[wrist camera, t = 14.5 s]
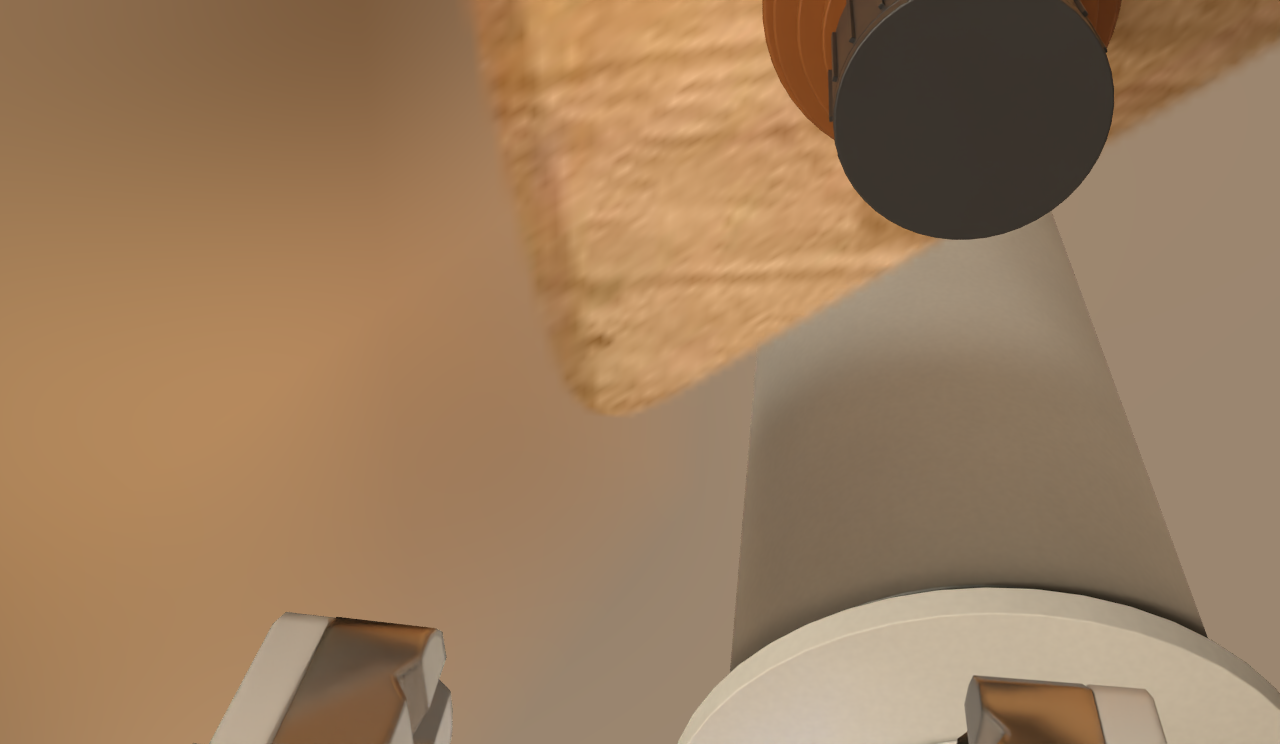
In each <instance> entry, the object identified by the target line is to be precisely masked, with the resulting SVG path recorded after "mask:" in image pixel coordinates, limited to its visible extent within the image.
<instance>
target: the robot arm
mask: <svg viewBox="0 0 1280 744" xmlns="http://www.w3.org/2000/svg"><path fill="white" fill-rule="evenodd" d="M445 660H446V652H445V645H444V640H443V633H442V632H441V631H440V630H438V629H436V628H428V627H419V626H412V625H403V624H394V623H385V622H377V621H368V620H359V619H350V618H342V617H336V618H333V617H324V616H316V615H307V614H297V613H289V612H286V613H285V614H284V615H282V616H281V617H280V618H279V619H278V620H277V621H276V622H274V623H273V625H272V627H271V628H270V630H269V632H268V634H267V636H266V638H265V640H264V642H263V643H262V645H261V647H260V649H259V651H258V653H257V655H256V657H255V659H254V660H253V662H252V664H251V667H250V668H249V670H248V672H247V674H246V676H245V678H244V680H243V681H242V683H241V685H240V687H239V689H238V691H237V692H236V694H235V696H234V698H233V700H232V702H231V704H230V706H229V708H228V709H227V711H226V713H225V715H224V717H223V719H222V721H221V723H220V725H219V726H218V728H217V730H216V732H215V734H214V736H213V738H212V740H211V741H210V744H450V742H451V736H452V712H453V711H452V700H451V692H450V690H449V689H448V688H447V687H446V686H445V685H444V684H443V683H442V682H441V681H440V680H439V678H440V675H441V672H442V669H443V666H444V663H445ZM964 707H965V716H966V724H967V732H966V733H964V734H963V735H962V736H960V737H959V738H958V739H957V741H949V742H942V743H936V744H1167V741H1166V737H1165V734H1164V731H1163V728H1162V724H1161V721H1160V718H1159V714H1158V711H1157V708H1156V705H1155V701H1154V698H1153V697H1152V696H1151V695H1150V693H1149V692H1148V691H1147V690H1146V689H1141V688H1128V687H1116V686H1103V685H1091V684H1088V685H1086V686H1085V685H1083V684H1079V683H1066V682H1054V681H1041V680H1028V679H1016V678H1003V677H990V676H978V675H973V677H972V679H971V681H970V683H969V685H968V690H967V694H966V699H965V703H964Z"/></svg>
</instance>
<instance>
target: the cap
mask: <svg viewBox="0 0 1280 744" xmlns="http://www.w3.org/2000/svg"><path fill="white" fill-rule="evenodd" d="M1088 15H1089V14H1088V12H1087V11H1086V9H1085V8H1084V6H1083V4H1082V3H1081V1H1080V0H846V6H845V8H844V10H843V12H842V15H841V17H840V19H839V22H838V25H837V29H836V32H832V35H831V50H832V70H828V91H829V122H833V130H834V138H835V145H836V149H837V153H838V157H839V160H840V162H841V165H842V167H843V169H844V172H845V174H846V176H847V177H848V179H849V181H850V182H851V184H852V186H853V187H854V189H855V190H856V191H857V192H858V193H859V195H860V196H861V197H862V198H863V200H864V201H865V202H867V203H868V204H869V205H870V206H871V207H872V208H873V209H874V210H875V211H876V212H878V213H879V214H881V215H882V216H883V217H885V218H886V219H888V220H889V221H891V222H893V223H895V224H897V225H899V226H901V227H903V228H905V229H908V230H910V231H913V232H916V233H918V234H922V235H927V236H931V237H935V238H943V239H952V240H969V239H978V238H987V237H991V236H995V235H1000V234H1004V233H1007V232H1010V231H1012V230H1015V229H1018V228H1021V227H1023V226H1025V225H1027V224H1029V223H1031V222H1033V221H1035V220H1037V219H1039V218H1040V217H1042V216H1044V215H1045V214H1047V213H1048V212H1050V211H1052V210H1053V209H1054V208H1055V207H1056V206H1058V205H1059V204H1060V203H1062V202H1063V201H1064V200H1065V199H1066V198H1067V197H1069V195H1071V193H1072V192H1073V191H1074V190H1075V189H1076V188H1077V187H1078V186H1079V185H1080V184H1081V183H1082V181H1083V180H1084V179H1085V178H1086V176H1087V175H1088V174H1089V172H1090V171H1091V169H1092V167H1093V166H1094V164H1095V163H1096V161H1097V159H1098V158H1099V156H1100V154H1101V151H1102V149H1103V147H1104V145H1105V142H1106V140H1107V136H1108V133H1109V130H1110V126H1111V122H1112V115H1113V109H1114V85H1113V78H1112V72H1111V68H1110V65H1109V62H1108V58H1107V55H1106V53H1107V48H1106V46H1105V45H1104V43H1103V41H1102V40H1101V38H1100V36H1099V35H1098V33H1097V32H1096V30H1095V28H1094V27H1093V25H1092V23H1091V22H1090V20H1089V19H1088V17H1087V16H1088Z"/></svg>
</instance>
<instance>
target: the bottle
mask: <svg viewBox="0 0 1280 744" xmlns="http://www.w3.org/2000/svg"><path fill="white" fill-rule="evenodd" d="M1080 1H1081V3H1082V4H1083V6H1084V8H1085V9H1086V11H1087V12H1088V14H1089V15H1088V16H1087V17H1088V19H1089V20H1090V22H1091V23H1092V25H1093V27H1094V28H1095V30H1096V32H1097V33H1098V35H1099V36H1100V38H1101V40H1102V41H1103V43H1104V45H1105V46H1106V48H1107V47H1108V44H1109V42H1110V40H1111V37H1112V35H1113V32H1114V29H1115V26H1116V22H1117V19H1118V15H1119V11H1120V7H1121V0H1080ZM845 6H846V0H763V24H764V31H765V38H766V43H767V46H768V50H769V53H770V57H771V60H772V63H773V65H774V68H775V70H776V72H777V74H778V77H779V79H780V81H781V83H782V85H783V86H784V88H785V89H786V91H787V93H788V94H789V96H790V98H791V99H792V100H793V102H794V103H795V104H796V105H797V107H798V108H799V109H800V110H801V111H802V113H803V114H804V115H805V116H806V117H807V118H808V119H809V120H810V121H811V122H812V123H813V124H814V125H816V126H817V127H818V128H819V129H820V130H821V131H823V132H824V133H825V134H827V135H828V136H830V137H831V138H832V139H834V140H835V138H834V130H833V122H829V91H828V70H832V50H831V35H832V32H836V29H837V25H838V22H839V19H840V17H841V15H842V12H843V10H844V8H845Z"/></svg>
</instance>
